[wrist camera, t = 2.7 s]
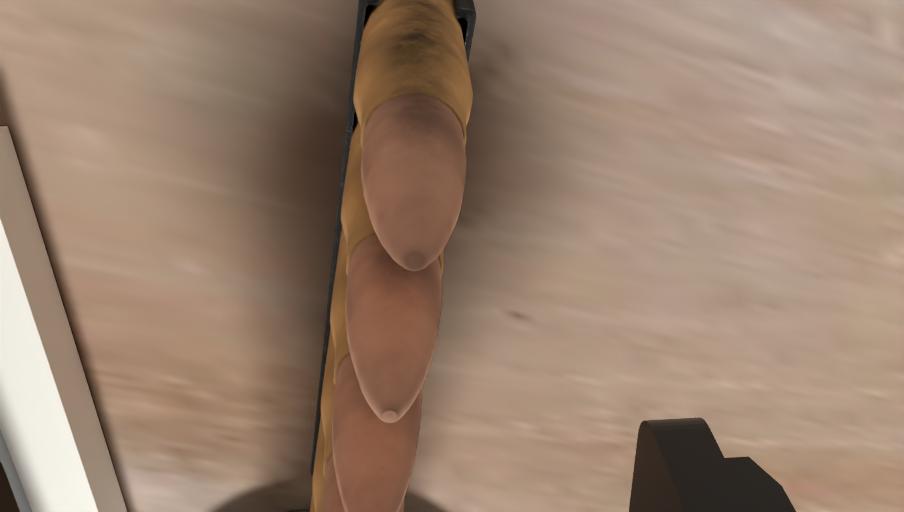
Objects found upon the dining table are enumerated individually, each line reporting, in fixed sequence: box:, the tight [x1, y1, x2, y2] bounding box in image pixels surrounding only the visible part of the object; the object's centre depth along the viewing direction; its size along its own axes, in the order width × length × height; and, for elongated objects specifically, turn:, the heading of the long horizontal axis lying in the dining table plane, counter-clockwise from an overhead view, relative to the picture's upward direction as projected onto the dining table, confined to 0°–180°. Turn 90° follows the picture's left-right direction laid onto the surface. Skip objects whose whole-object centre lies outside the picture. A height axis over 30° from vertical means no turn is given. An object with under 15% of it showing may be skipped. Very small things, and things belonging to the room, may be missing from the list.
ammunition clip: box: [310, 0, 476, 512], centre depth 15 cm, size 11×2×12 cm, turn 171°
